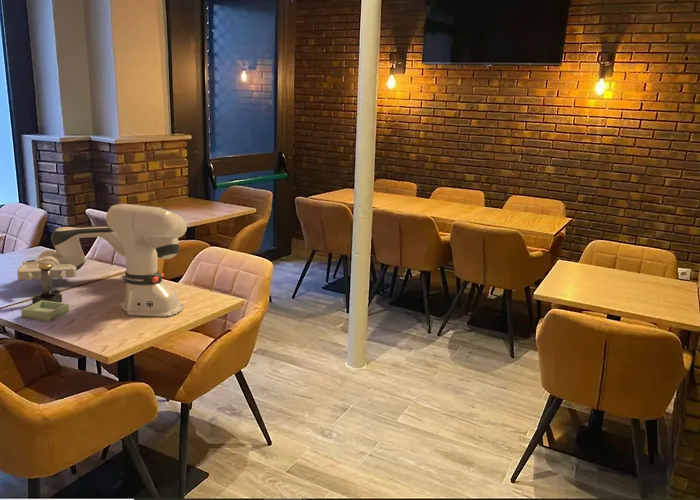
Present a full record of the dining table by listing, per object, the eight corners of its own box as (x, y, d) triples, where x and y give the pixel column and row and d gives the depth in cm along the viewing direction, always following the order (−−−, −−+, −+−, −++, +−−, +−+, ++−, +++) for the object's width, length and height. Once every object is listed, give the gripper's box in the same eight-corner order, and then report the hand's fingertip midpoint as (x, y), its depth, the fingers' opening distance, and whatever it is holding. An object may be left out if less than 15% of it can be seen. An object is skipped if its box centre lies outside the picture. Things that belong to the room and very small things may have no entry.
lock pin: (56, 302, 216) (54, 263, 212) (49, 306, 211) (46, 266, 208) (46, 301, 216) (43, 262, 213) (38, 304, 212) (35, 265, 208)
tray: (68, 311, 208) (68, 303, 207) (49, 321, 198) (49, 313, 197) (42, 308, 209) (41, 300, 208) (21, 317, 199) (21, 309, 198)
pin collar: (62, 301, 217) (61, 294, 216) (50, 307, 210) (49, 300, 209) (45, 299, 218) (44, 292, 217) (32, 305, 211) (32, 297, 210)
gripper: (77, 273, 235) (77, 283, 223) (19, 277, 226) (16, 287, 214) (76, 259, 234) (76, 268, 221) (18, 261, 225) (15, 271, 213)
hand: (46, 277), depth 218 cm, fingers open, 8 cm apart
